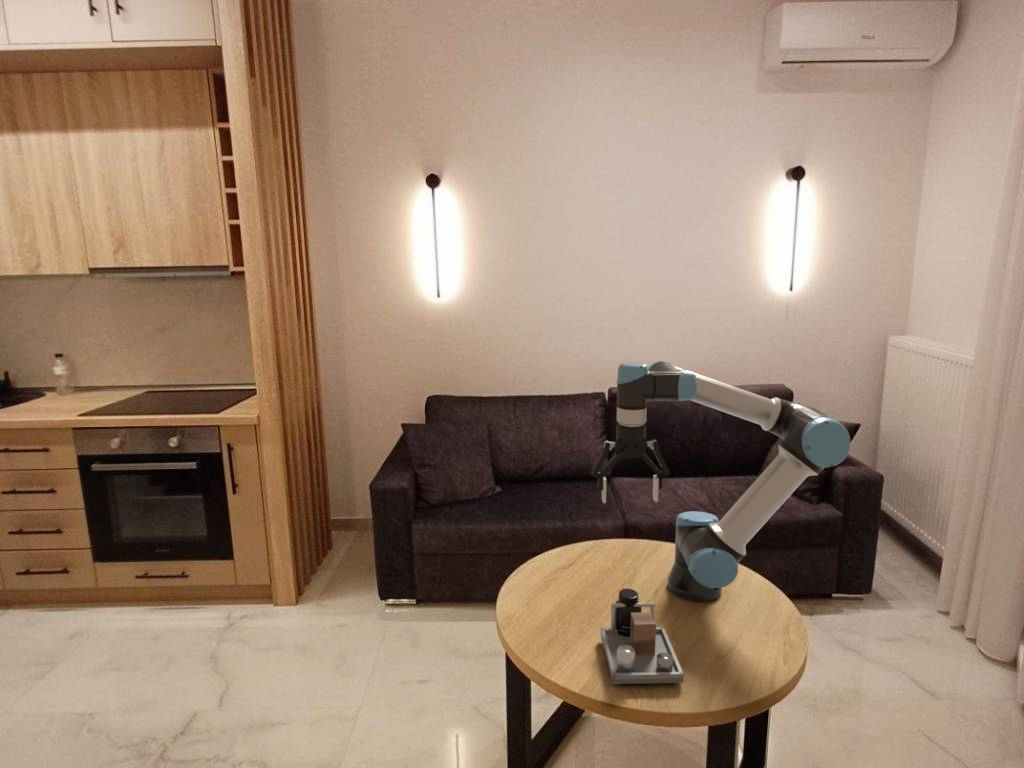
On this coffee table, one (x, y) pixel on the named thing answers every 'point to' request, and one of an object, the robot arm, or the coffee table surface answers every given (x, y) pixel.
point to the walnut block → (643, 633)
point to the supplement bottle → (626, 611)
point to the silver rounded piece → (625, 659)
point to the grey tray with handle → (643, 663)
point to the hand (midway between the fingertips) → (629, 500)
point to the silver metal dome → (664, 662)
